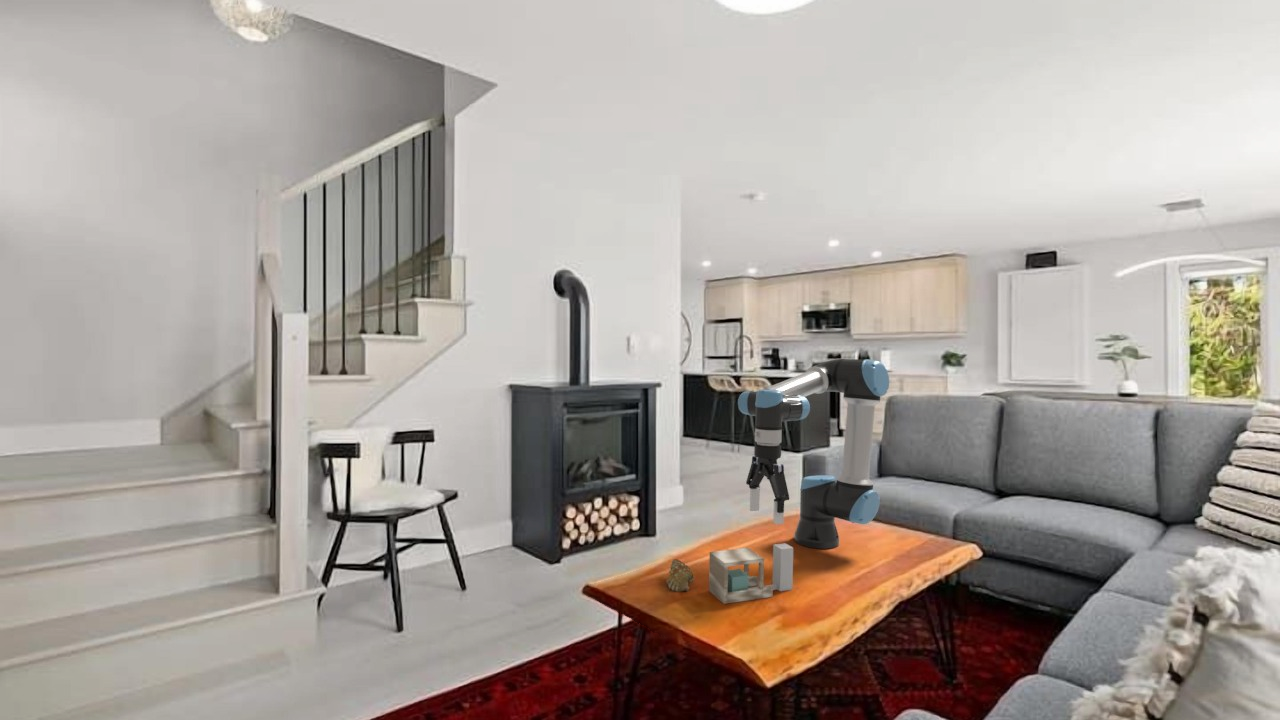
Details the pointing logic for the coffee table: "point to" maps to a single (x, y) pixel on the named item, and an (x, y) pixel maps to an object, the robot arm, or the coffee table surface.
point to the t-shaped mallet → (780, 571)
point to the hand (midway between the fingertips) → (765, 517)
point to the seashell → (679, 576)
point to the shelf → (720, 575)
